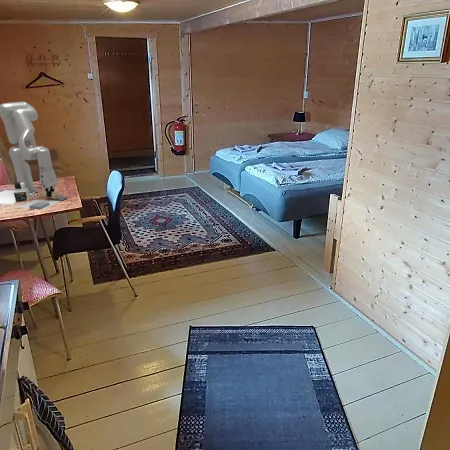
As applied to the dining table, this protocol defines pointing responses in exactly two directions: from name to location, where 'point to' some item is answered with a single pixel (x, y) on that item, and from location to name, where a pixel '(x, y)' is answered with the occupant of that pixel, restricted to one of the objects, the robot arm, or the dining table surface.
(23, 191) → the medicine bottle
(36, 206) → the tile
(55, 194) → the turner
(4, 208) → the dining table surface
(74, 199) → the dining table surface
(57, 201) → the mat
